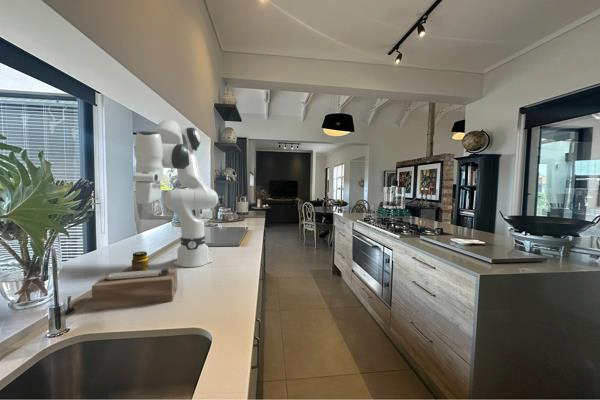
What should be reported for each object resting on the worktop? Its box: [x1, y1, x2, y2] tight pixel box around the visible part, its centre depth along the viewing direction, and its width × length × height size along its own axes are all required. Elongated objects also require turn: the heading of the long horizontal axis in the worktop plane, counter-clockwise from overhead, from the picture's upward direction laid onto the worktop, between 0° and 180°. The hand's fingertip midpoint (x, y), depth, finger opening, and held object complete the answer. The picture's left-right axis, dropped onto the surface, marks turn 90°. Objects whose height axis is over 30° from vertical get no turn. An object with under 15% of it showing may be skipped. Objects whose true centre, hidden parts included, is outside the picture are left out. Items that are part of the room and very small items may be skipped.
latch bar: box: [105, 269, 162, 280], centre depth 96 cm, size 4×17×1 cm, turn 107°
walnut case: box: [91, 267, 178, 310], centre depth 97 cm, size 12×24×10 cm, turn 107°
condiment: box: [131, 251, 149, 272], centre depth 113 cm, size 7×8×12 cm
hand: (150, 213), depth 98 cm, fingers closed
